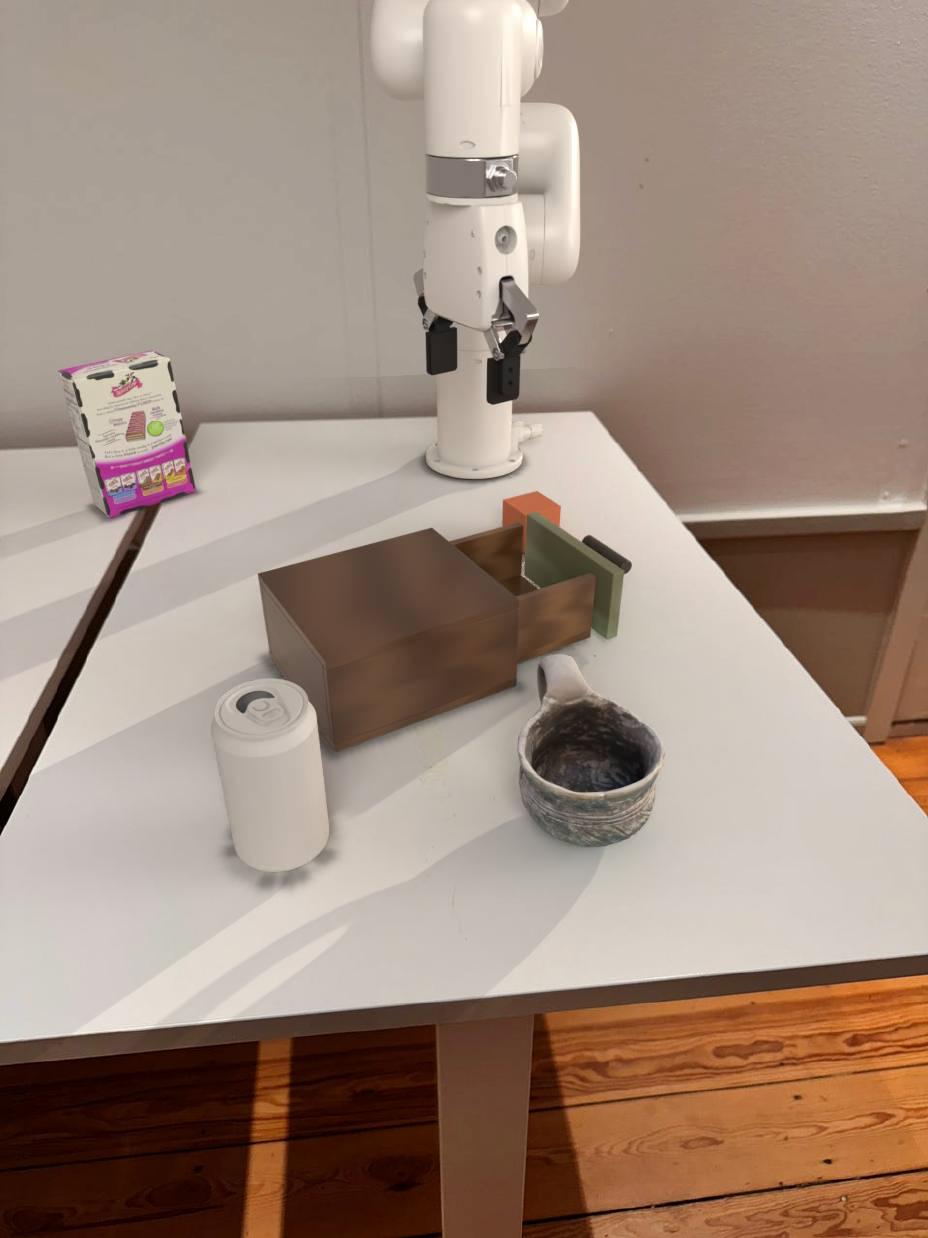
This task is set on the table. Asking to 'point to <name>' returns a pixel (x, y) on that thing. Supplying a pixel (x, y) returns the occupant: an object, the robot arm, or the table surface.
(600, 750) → the mug
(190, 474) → the candy bar box
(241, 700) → the beverage can
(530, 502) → the block
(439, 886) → the table surface
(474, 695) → the cabinet
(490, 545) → the drawer
